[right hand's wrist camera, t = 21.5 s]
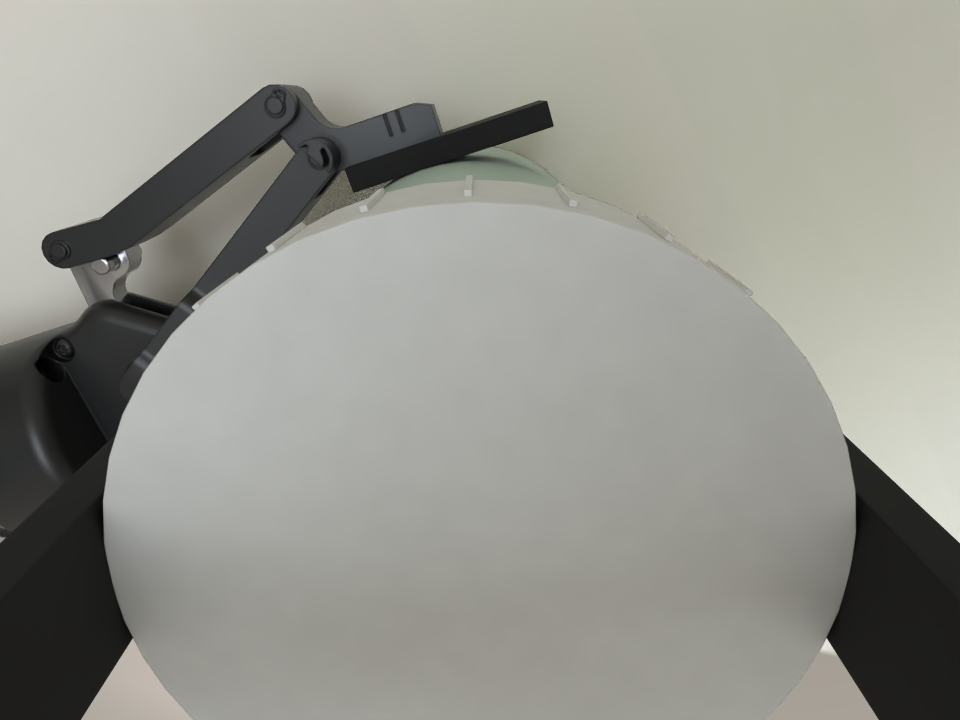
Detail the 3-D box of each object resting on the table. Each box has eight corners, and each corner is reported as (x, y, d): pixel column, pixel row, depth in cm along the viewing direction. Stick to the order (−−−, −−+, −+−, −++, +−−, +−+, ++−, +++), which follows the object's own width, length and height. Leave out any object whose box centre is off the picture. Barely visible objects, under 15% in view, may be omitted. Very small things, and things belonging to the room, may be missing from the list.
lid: (788, 689, 15) (845, 797, 12) (259, 747, 15) (221, 860, 13) (801, 122, 10) (889, 130, 8) (70, 234, 11) (-34, 270, 9)
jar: (462, 90, 27) (439, 80, 10) (637, 256, 30) (877, 495, 12) (310, 274, 30) (71, 536, 12) (482, 413, 33) (490, 797, 15)
